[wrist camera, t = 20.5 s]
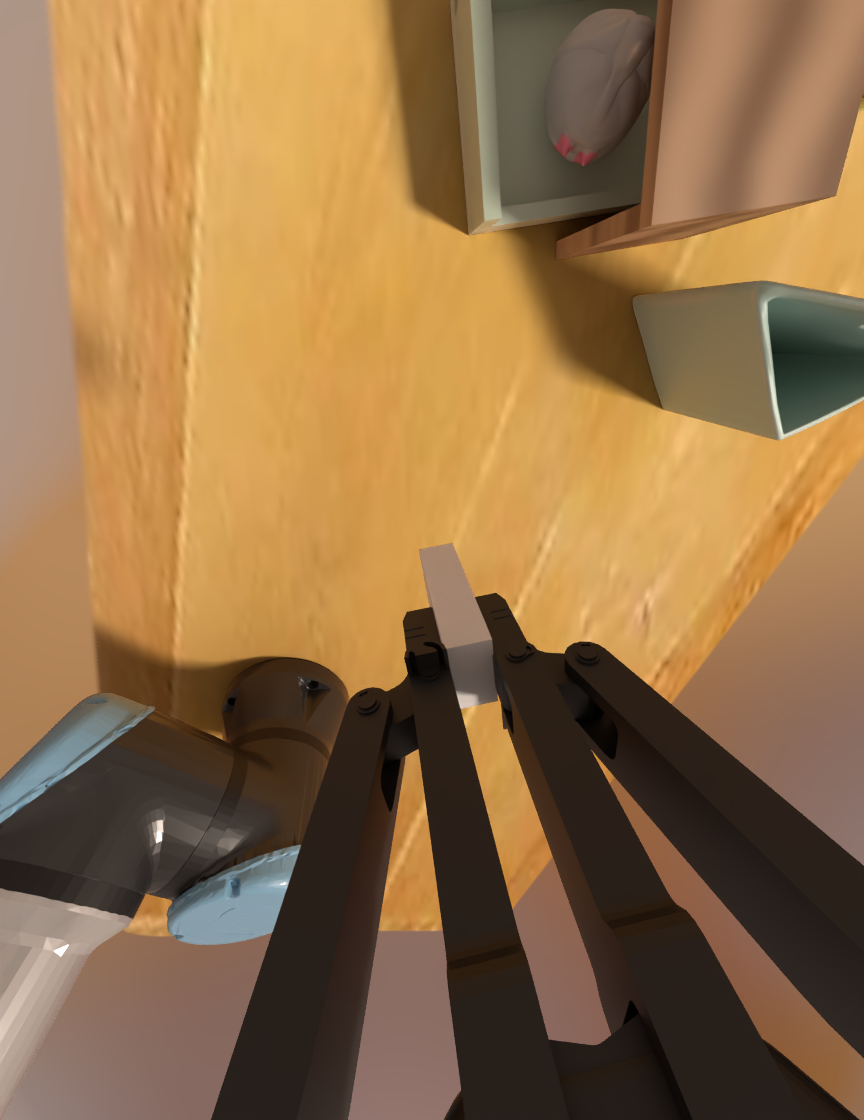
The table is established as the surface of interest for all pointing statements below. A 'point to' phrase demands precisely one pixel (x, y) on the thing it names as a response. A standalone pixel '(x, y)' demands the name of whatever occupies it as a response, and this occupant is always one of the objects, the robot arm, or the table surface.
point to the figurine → (599, 83)
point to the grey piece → (754, 354)
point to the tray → (531, 117)
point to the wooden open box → (740, 116)
